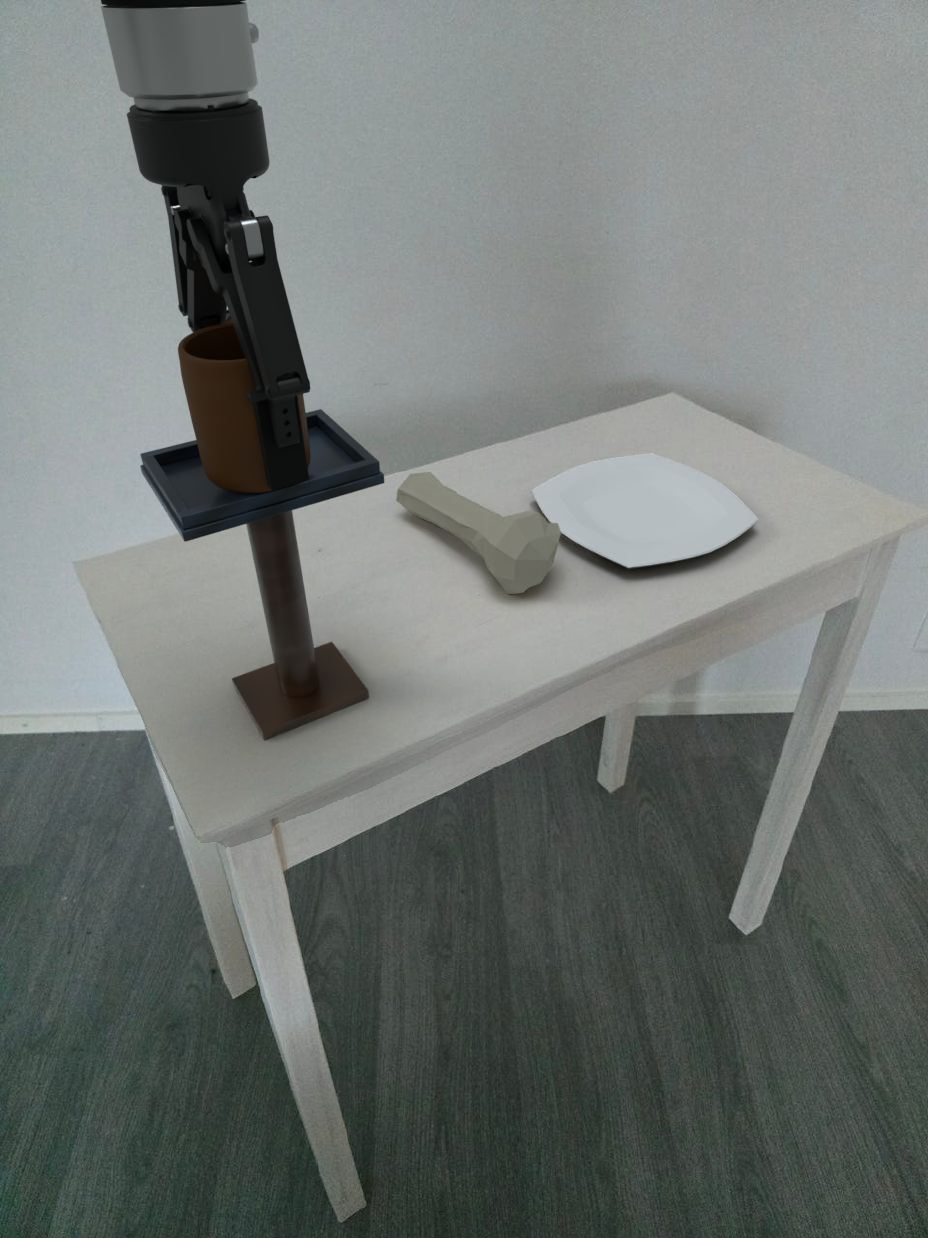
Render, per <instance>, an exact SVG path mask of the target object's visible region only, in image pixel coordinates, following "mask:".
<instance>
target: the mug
mask: <svg viewBox="0 0 928 1238" xmlns="http://www.w3.org/2000/svg"><path fill="white" fill-rule="evenodd" d="M177 355H178V361H179V368H180V375H181V380H182V385H183V389H184V394H185V398H186V402H187V406H188V411H189V415H190V420H191V424H192V429H193V432H194V437H195V440H197V444H198V449H199V453H200V457H201V461H202V465H203V468H204V471H205V473H206V476H207V477H208V479H209V480H210V481H211V482H212V483H213V484H214V485H216V486H218V487H220V488H222V489H225V490H228V491H232V492H237V493H262V492H268V491H273V490H271V489H270V488H269V486H268V483H267V478H266V472H265V467H264V461H263V455H262V450H261V444H260V439H259V433H258V428H257V422H256V417H255V411H254V406H253V403H251V404H250V403H249V402H248V400H247V398H246V396H247V394H248V393H249V391H253V390H256V388H255V385H254V382H253V379H252V376H251V373H250V371H249V368H248V363H247V360H246V359H245V356H244V353H243V350H242V347H241V345H240V342H239V339H238V336H237V333H236V330H235V327H234V324H233V322H232V319H231V316H228V318H227V320H226V324H220V325H215V326H211V327H207V328H204V329H201V330H198V331H196V332H191V333H189V334H188V335H186V336H184V337H183V338H182V339H181V340H180V341H179V343H178V346H177ZM279 376H282V375H279ZM297 398H298V405H299V412H300V419H301V425H302V432H303V439H304V446H305V453H306V460H307V467H309V465H310V458H311V456H310V444H309V436H308V429H307V421H306V413H307V412H306V406H305V398H304V394H300V395H297ZM279 489H280V488H279ZM275 490H276V489H275Z"/></svg>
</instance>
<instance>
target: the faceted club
mask: <svg viewBox="0 0 928 1238" xmlns="http://www.w3.org/2000/svg"><path fill="white" fill-rule="evenodd" d="M396 502H397V503H398V504H400V505H401V506H402V508H404V509H405V510H407V511H408V512H410V513H411V514H412V515H414V516H415V517H417V518H420V519H423V520H425V521H426V522H429V523H432V524H434V525H436V526H437V527H439V528H440V529H442V530H444V531H446V532H448V533H449V534H451V535H452V536H454V537H456V538H458V539H459V540H461V541H462V542H463V543H465V544H466V545H467V546H468V547H469V548H470V549H471V550H473V551H474V552H475V553H476V554H477V555H479V556H480V557H481V558H482V559H483V560H484V562H485V565H486V568H487V569H488V571H489V572H490V573H491V575H492V576H493V577H494V578H495V579H496V580H497V582H498V584H499V586H500V587H501V588H502V589H503V590H504V591H505V593H506V594H507V595H514V594H523V593H524V592H526V591H527V590H528V589H529V588H532V587H535V586H537V585H540V584H541V583H542V581H543V580H544V579H545V577H546V576H547V575H548V573H549V572H550V570H551V569H552V567H553V566H554V561H555V558H556V554H557V551H558V547H559V543H560V539H561V537H562V536H561V535H562V534H561V531H560V528H559V525H558V523H550V522H549V521H548V519H547V518H545V517H544V516H543V515H542V514H541V513H540V512H537V511H522V512H517V513H514V514H510V515H505V516H502V515H500V514H499V513H496V512H494V511H492V510H491V509H489V508H486V507H485V506H483V505H481V504H479V503H477V502H475V501H473V500H471V499H469V498H467V497H465V496H463V495H461V494H459V493H458V492H457V491H456V490H454V489H452V488H450V487H448V486H446V485H444V484H443V483H442V481H440V480H439V479H438V477H436V476H435V475H434V474H433V473H432V472H431V471H426V472H425V471H424V472H414V473H413V472H412V473H410V474H409V475H408V476H407V477H406V479H404V481H403V482H402V483H401V484H400V486H399V487H398V488H397V490H396Z"/></svg>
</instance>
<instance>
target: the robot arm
mask: <svg viewBox="0 0 928 1238" xmlns="http://www.w3.org/2000/svg"><path fill="white" fill-rule="evenodd" d="M100 4H101V6H100V10H101V13H102V18H103V22H104V26H105V31H106V35H107V40H108V42H109V43H108V44H109V47H110V51H111V57H112V60H113V65H114V70H115V73H116V78H117V82H118V85H119V90H120V91H121V92H122V93H123V94H125V95H126V96H128V97H129V98H133V102H134V104H132V105H131V106H129V109H128V110H129V112H127V113H126V119H127V122H128V126H129V131H130V135H131V136H130V137H131V140H132V144H133V149H134V154H135V157H136V161H137V165H138V170H139V172H140V174H141V176H142V177H143V178H144V179H145V180H146V181H148V182H150V183H152V184H156V185H160V186H161V187H160V191H161V195H162V196H163V198H164V204H165V209H166V214H167V220H168V227H169V236H170V244H171V253H172V260H173V268H174V276H175V284H176V293H177V300H178V305H177V306H178V307H177V308H178V310H179V312H180V313H181V315H182V316H183V317H187V325H188V328H189V329H190V330H191V333H193V332H196V331H198V330H201V329H204V328H207V327H211V326H215V325H220V324H226V320H227V318H228V316H231V319H232V322H233V324H234V327H235V330H236V333H237V336H238V339H239V342H240V345H241V347H242V350H243V353H244V356H245V359H246V360H247V363H248V368H249V371H250V373H251V376H252V379H253V382H254V385H255V388H256V390H253V391H249V393H248V394H247V396H246V398H247V400H248V402H249V403H250V404H251V403H253V406H254V411H255V417H256V422H257V428H258V433H259V439H260V444H261V450H262V455H263V461H264V467H265V472H266V478H267V483H268V486H269V488H270V489H271V490H275V489H279V488H283V487H286V486H290V485H293V484H297V483H300V482H304V481H307V480H309V474H308V467H307V460H306V453H305V446H304V439H303V432H302V425H301V419H300V412H299V405H298V398H297V395H300V394H303V395H304V394H307V393H310V391H311V381H310V379H309V376H308V372H307V368H306V363H305V361H304V357H303V352H302V350H301V348H302V347H301V344H300V341H299V337H298V334H297V329H296V325H295V322H294V317H293V314H292V311H291V310H292V309H291V307H290V302H289V299H288V294H287V291H286V287H285V283H284V279H283V275H282V271H281V268H280V264H279V260H278V259H279V258H278V253H277V252H278V251H277V247H276V240H275V234H274V233H275V232H274V225H273V222H272V221H271V218H270V217H269V215H259V216H256V215H255V212H254V211H253V210H252V209H250V208H249V205H248V201H247V196H246V194H245V192H244V190H245V188H244V186H245V184H246V183H247V182H248V181H249V180H250V179H258V178H259V177H261V176H263V175H264V174H265V173H266V172H267V171H268V170H269V167H270V155H269V148H268V142H267V134H266V133H267V132H266V125H265V119H264V113H263V112H264V111H263V107H262V106H261V105H259V102H258V101H257V100H256V99H253V98H250V97H249V92H251V91H254V90H255V88H256V87H257V85H258V77H257V76H258V75H257V68H256V61H255V54H254V50H253V44H257V42H258V41H259V39H260V36H259V35H260V34H259V33H260V31H259V28H258V27H257V25H256V23H252V22H250V20H249V19H250V18H249V12H248V4H247V0H100ZM279 375H282V376H279Z"/></svg>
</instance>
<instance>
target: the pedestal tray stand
mask: <svg viewBox="0 0 928 1238" xmlns="http://www.w3.org/2000/svg"><path fill="white" fill-rule="evenodd" d="M306 421H307V429H308V436H309V444H310V456H311V458H310V465H309V467H308V474H309V480H307V481H304V482H300V483H297V484H293V485H290V486H286V487H283V488H280V489H276V490H273V491H268V492H262V493H237V492H232V491H228V490H225V489H222V488H220V487H218V486H216V485H214V484H213V483H212V482H211V481H210V480H209V479H208V477H207V476H206V473H205V471H204V468H203V465H202V461H201V457H200V453H199V449H198V444H197V440H196V439H195V440H190V441H186V442H182V443H178V444H174V445H170V446H169V445H168V446H166V447H161V448H157V449H154V450H150V451H147V452H142V453H140V459H141V463H142V464H141V465H140V471H141V474H142V476H143V477H144V479H145V481H146V482H147V484H148V485H149V487H150V489H151V490H152V492H153V494H154V495H155V497H156V498H157V500H158V501H159V503H160V505H161V506H162V508H163V509H164V512H165V513H166V515H167V517H168V518H169V519H170V521H171V522H172V524H173V526H174V527H175V529H176V530H177V532H178V533H179V535H180V537H181V538H182V540H183V541H184V542H186V543H187V542H190V541H193V540H196V539H199V538H203V537H207V536H209V535H213V534H217V533H220V532H223V531H227V530H230V529H235V528H237V527H240V526H241V527H242V526H243V525H246V529H247V534H248V539H249V544H250V545H249V546H250V549H251V554H252V559H253V565H254V570H255V574H256V579H257V584H258V588H259V595H260V597H261V603H262V609H263V614H264V619H265V624H266V628H267V633H268V634H267V635H268V639H269V645H270V648H271V653H272V658H273V662H272V663H270V664H267V665H265V666H262V667H258V668H256V669H254V670H251V671H248V672H246V673H243V674H240V675H238V676H234V677H232V678H231V681H232V685H233V688H234V690H235V692H236V693H237V695H238V696H239V699H240V700H241V702H242V704H243V705H244V707H245V709H246V710H247V712H248V714H249V716H250V718H251V720H252V721H253V723H254V725H255V726H256V728H257V730H258V732H259V733H260V736H261V737H262V739H263V741H266V740H269V739H271V738H273V737H276V736H279V735H281V734H283V733H286V732H288V731H291V730H294V729H296V728H298V727H301V726H303V725H306V724H308V723H310V722H313V721H316V720H318V719H321V718H323V717H325V716H328V715H331V714H332V713H336V712H338V711H340V710H342V709H345V708H347V707H351V706H352V705H354V704H357V703H360V702H362V701H365V700H367V699H369V698H370V693H369V689H368V688H367V687H366V685H365V684H364V683H363V681H362V680H361V678H360V677H359V676H358V674H357V672H355V670H354V669H353V668H352V666H351V665H350V664H349V662H348V661H347V659H345V657H344V655H343V654H342V653H341V652H340V651H339V649H338V648H337V646H336V645H335V644H334V642H333V641H330V642H327V643H324V644H321V645H318V646H316V647H315V645H314V640H313V634H312V633H313V632H312V627H311V620H310V614H309V613H310V612H309V608H308V601H307V595H306V588H305V583H304V576H303V571H302V564H301V558H300V557H301V556H300V553H299V551H300V550H299V545H298V540H297V533H296V532H297V531H296V526H295V519H294V514H293V511H295V510H298V509H301V508H304V507H309V506H312V505H315V504H318V503H323V502H325V501H329V500H331V499H332V500H333V499H335V498H338V497H339V498H340V497H342V496H346V495H349V494H352V493H356V492H359V491H362V490H366V489H369V488H373V487H376V486H379V485H383V484H385V474H384V473H383V472H382V471H381V467H380V461H379V459H378V458H376V457H375V456H374V455H373V454H372V453H370V451H369V450H367V449H366V448H365V447H364V446H363V445H362V444H361V443H359V442H358V441H357V440H356V439H355V438H354V437H353V436H352V435H350V434H349V433H348V432H347V431H346V430H345V429H344V428H343V427H342V426H341V425H340V424H339V423H338V422H336V421H335V420H334V419H333V418H332V417H331V416H329V415H328V413H326V412H325V411H324V409H321V408H319V409H316V410H312V411H308V412H306Z"/></svg>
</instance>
